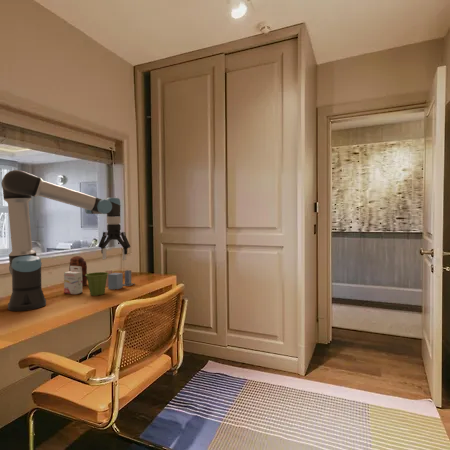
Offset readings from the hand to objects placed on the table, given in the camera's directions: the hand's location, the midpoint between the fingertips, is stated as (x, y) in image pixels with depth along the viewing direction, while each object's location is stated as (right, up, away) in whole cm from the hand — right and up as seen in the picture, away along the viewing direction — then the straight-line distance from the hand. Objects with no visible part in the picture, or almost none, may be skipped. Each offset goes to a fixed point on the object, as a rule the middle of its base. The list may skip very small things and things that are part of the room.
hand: (114, 259), depth 183 cm
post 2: (+5, -17, +9) cm, 20 cm away
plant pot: (-4, -18, -14) cm, 23 cm away
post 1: (-6, -17, +8) cm, 20 cm away
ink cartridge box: (-19, -18, -11) cm, 28 cm away
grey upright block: (+1, -17, 0) cm, 17 cm away
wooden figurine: (-26, -17, +8) cm, 32 cm away
